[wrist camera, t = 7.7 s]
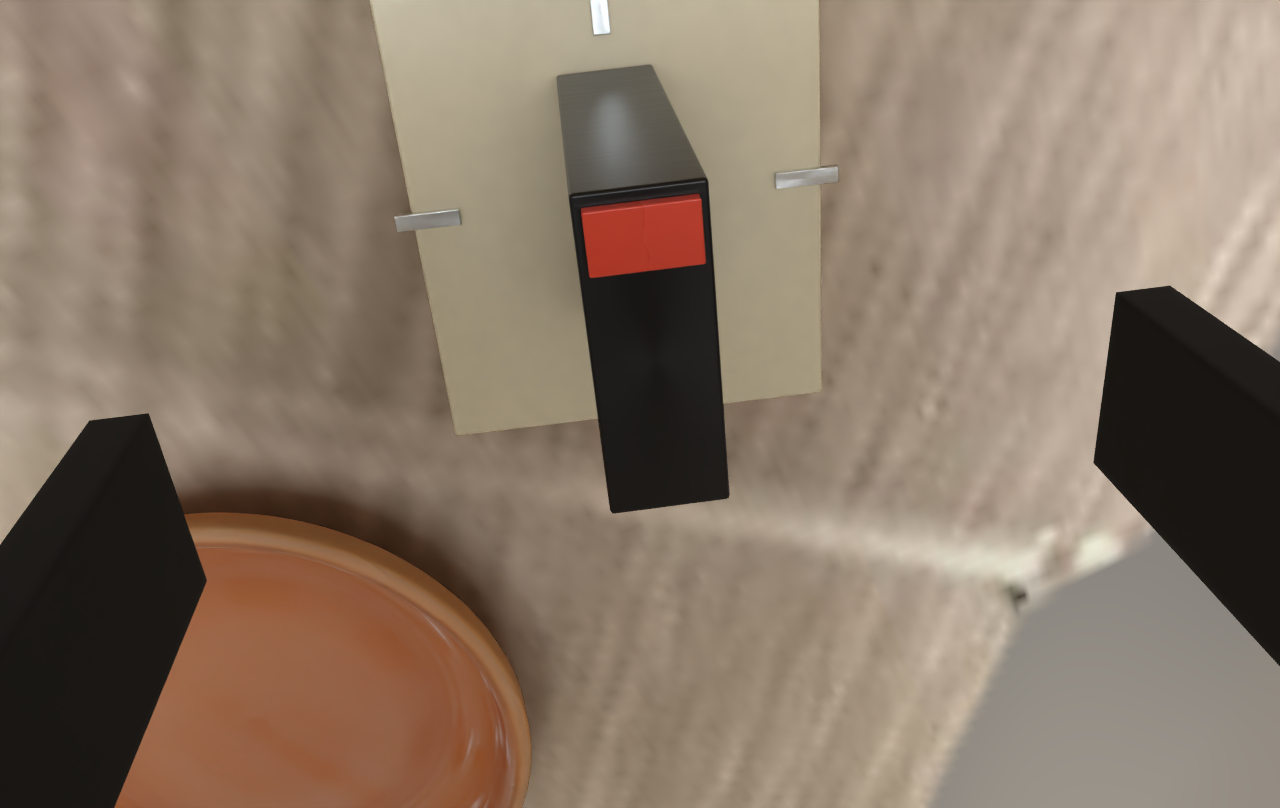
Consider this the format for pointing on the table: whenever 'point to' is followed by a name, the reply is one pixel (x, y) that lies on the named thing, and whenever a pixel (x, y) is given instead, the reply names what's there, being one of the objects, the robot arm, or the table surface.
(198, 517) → the saucer
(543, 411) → the beige flat block
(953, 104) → the table surface
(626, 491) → the black upright block
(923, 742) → the table surface
